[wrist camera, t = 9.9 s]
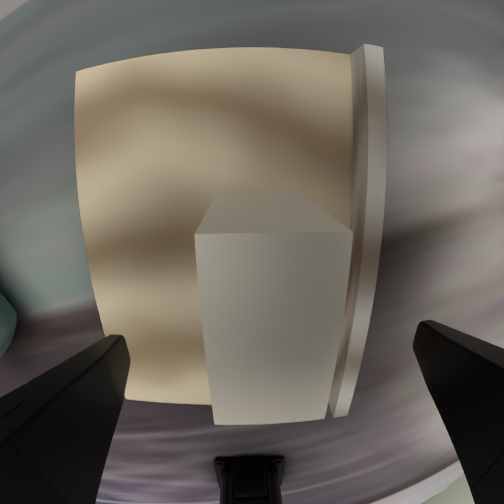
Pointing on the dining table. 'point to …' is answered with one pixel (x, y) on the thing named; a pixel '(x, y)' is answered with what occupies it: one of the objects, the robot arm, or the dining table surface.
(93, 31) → the dining table surface
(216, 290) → the carton
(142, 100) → the shelf board
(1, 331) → the flower pot
